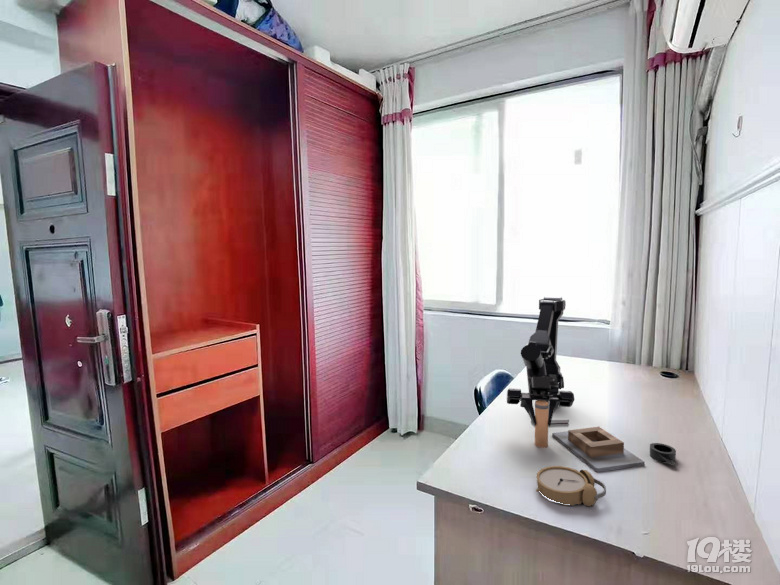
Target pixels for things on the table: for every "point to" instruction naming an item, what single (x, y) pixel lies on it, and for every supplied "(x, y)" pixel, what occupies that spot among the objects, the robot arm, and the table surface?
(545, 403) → the terracotta pin
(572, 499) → the alarm clock
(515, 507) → the table surface
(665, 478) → the table surface
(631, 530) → the table surface
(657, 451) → the black hollow winged cylinder
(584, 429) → the block
